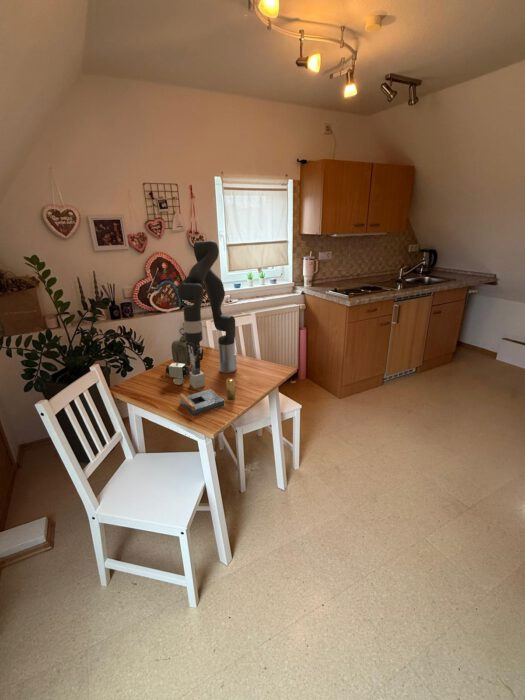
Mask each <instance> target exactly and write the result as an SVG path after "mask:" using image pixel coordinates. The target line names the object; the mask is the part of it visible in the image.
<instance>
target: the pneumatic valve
mask: <svg viewBox="0 0 525 700" xmlns="http://www.w3.org/2000/svg"><path fill="white" fill-rule="evenodd" d="M190 370H191V368H190V367H189V366H187V364H182V363H176V362H171V363H170V364H168V365H167V366H166V367H165V373H166V374H167V375H168V378H173V380H172V381H173V383H174V385H176V386H177V385H178V386H181V385H182V384H184V383H185V378H186V377H187V376H190V373H189V372H191V371H190Z"/></svg>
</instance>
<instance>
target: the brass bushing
mask: <svg viewBox="0 0 525 700" xmlns="http://www.w3.org/2000/svg"><path fill="white" fill-rule="evenodd" d="M225 382H226V384H225V385H226V400H227V401H229V402H231V401H235V400H236V388H235V387H236V384H235V382H236V381H235V379H234V378H227V379H226V380H225Z"/></svg>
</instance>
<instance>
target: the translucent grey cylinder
mask: <svg viewBox="0 0 525 700" xmlns="http://www.w3.org/2000/svg"><path fill="white" fill-rule="evenodd" d="M195 354H197V353H195ZM196 357H197V356H196ZM190 359H191V365H190V370H191V371H190V372H191V374H192V375H198V374H200V371H201V367H200V368H198V369H196V368H195V359H194V356H193V354H192V352H190Z"/></svg>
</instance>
